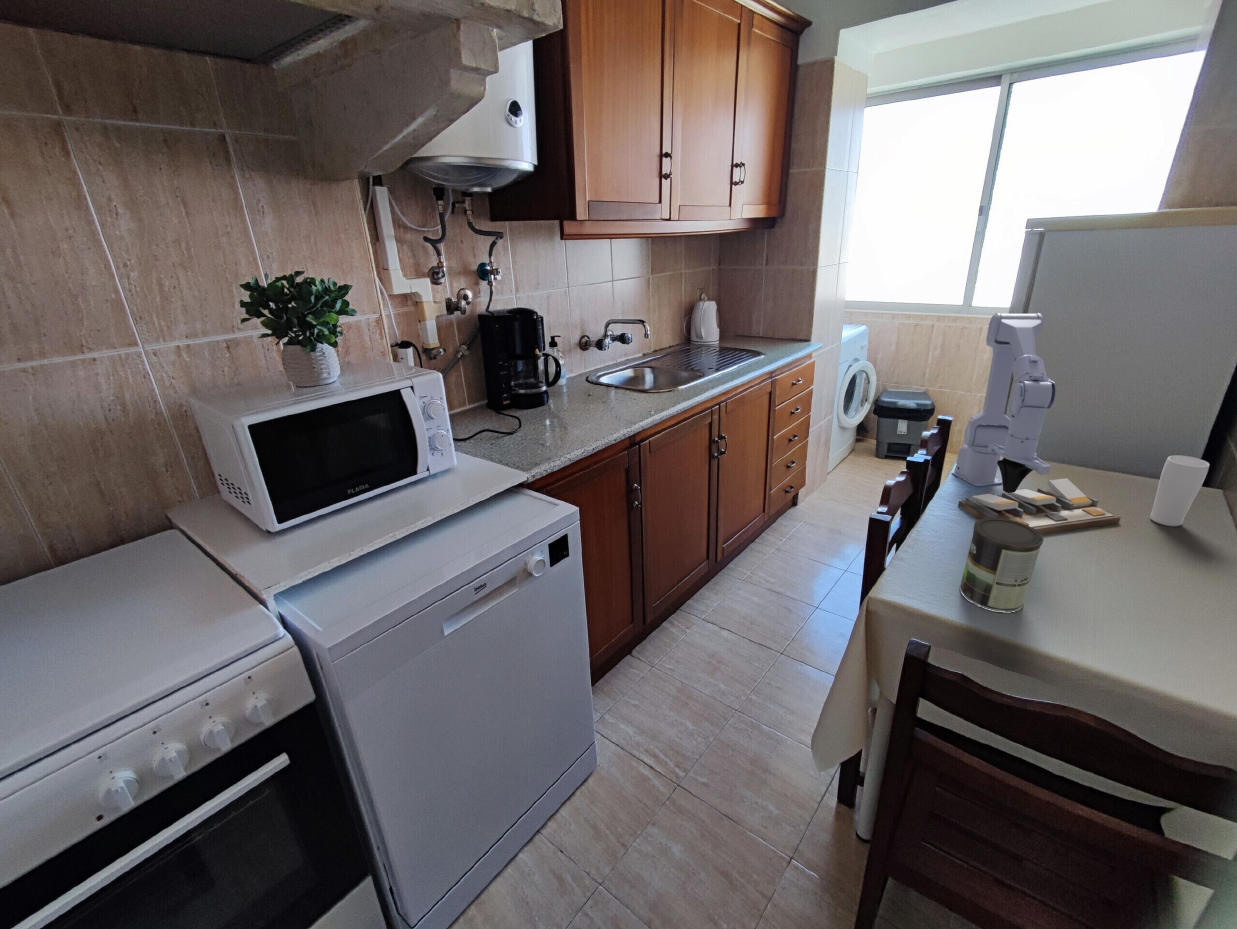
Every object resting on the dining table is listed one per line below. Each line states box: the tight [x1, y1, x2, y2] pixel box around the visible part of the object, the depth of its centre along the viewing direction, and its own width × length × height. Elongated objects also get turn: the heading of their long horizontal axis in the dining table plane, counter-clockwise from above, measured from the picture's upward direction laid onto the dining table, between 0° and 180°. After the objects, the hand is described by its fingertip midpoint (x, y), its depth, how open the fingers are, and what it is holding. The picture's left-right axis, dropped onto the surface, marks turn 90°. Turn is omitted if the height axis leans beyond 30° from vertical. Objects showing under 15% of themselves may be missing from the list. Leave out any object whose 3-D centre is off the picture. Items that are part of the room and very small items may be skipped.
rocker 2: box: [1046, 477, 1092, 508], centre depth 134 cm, size 8×5×1 cm, turn 11°
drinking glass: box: [1149, 454, 1211, 527], centre depth 124 cm, size 7×7×15 cm
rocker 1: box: [971, 493, 1018, 510], centre depth 131 cm, size 8×5×1 cm, turn 10°
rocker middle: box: [1007, 488, 1056, 505], centre depth 133 cm, size 8×5×1 cm, turn 10°
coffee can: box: [959, 518, 1044, 612], centre depth 102 cm, size 10×10×14 cm
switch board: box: [957, 487, 1121, 535], centre depth 132 cm, size 16×28×3 cm, turn 100°
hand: (1008, 491), depth 127 cm, fingers closed
